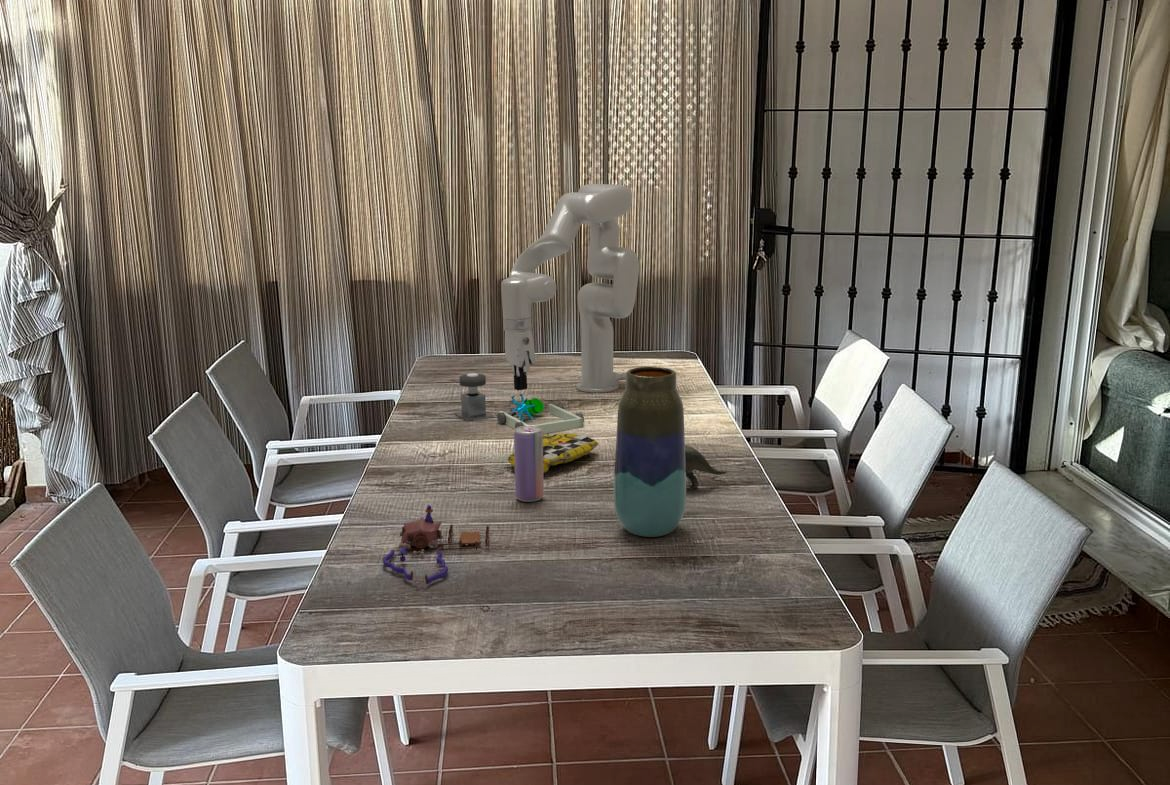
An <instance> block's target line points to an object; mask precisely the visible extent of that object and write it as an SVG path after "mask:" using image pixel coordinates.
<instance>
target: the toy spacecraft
mask: <svg viewBox="0 0 1170 785" xmlns="http://www.w3.org/2000/svg"><path fill="white" fill-rule="evenodd" d="M598 445H599V442H598V441H597V440H595V439H593V438H591V437H589V436H587V435H580V434H577V433H555V434H553V435H550V434H549V433H546V434H543V474H545V473H547V472H549V470H550V467H551V466H556V465H559V464H567V463H569V462H573V461H574V460H577V459H580V458H582V459H583V460H584V461H585V460H587V457H588V458H589V459H590V458H591V455H590V454H589V453H591V451H593V450H595V448H596V447H597V446H598ZM586 456H587V457H586ZM507 460H508V462H509V464H510V465H511V466H512V467H513V469H514V470H513V473H514V474H515V459H514V452H513V453H512V454H510V455H509V456H508V457H507Z"/></svg>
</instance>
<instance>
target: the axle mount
mask: <svg viewBox="0 0 1170 785" xmlns="http://www.w3.org/2000/svg"><path fill="white" fill-rule="evenodd" d="M477 392H478V393H476V394H469V392H466V393H465V392H464V393H460V402H461V404H460V405H461V411H458V412H454V415H455V416H456V417H458V418H460V419H462V420H463V421H464V422H470V421H476V420H485V419H491V418H494V415H493V414H492V413H490V412H488V411H487V410H486V409H487V408H486V407H487V406H486V403H487V402H486V394H483V393H482V392H479V391H477Z"/></svg>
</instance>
